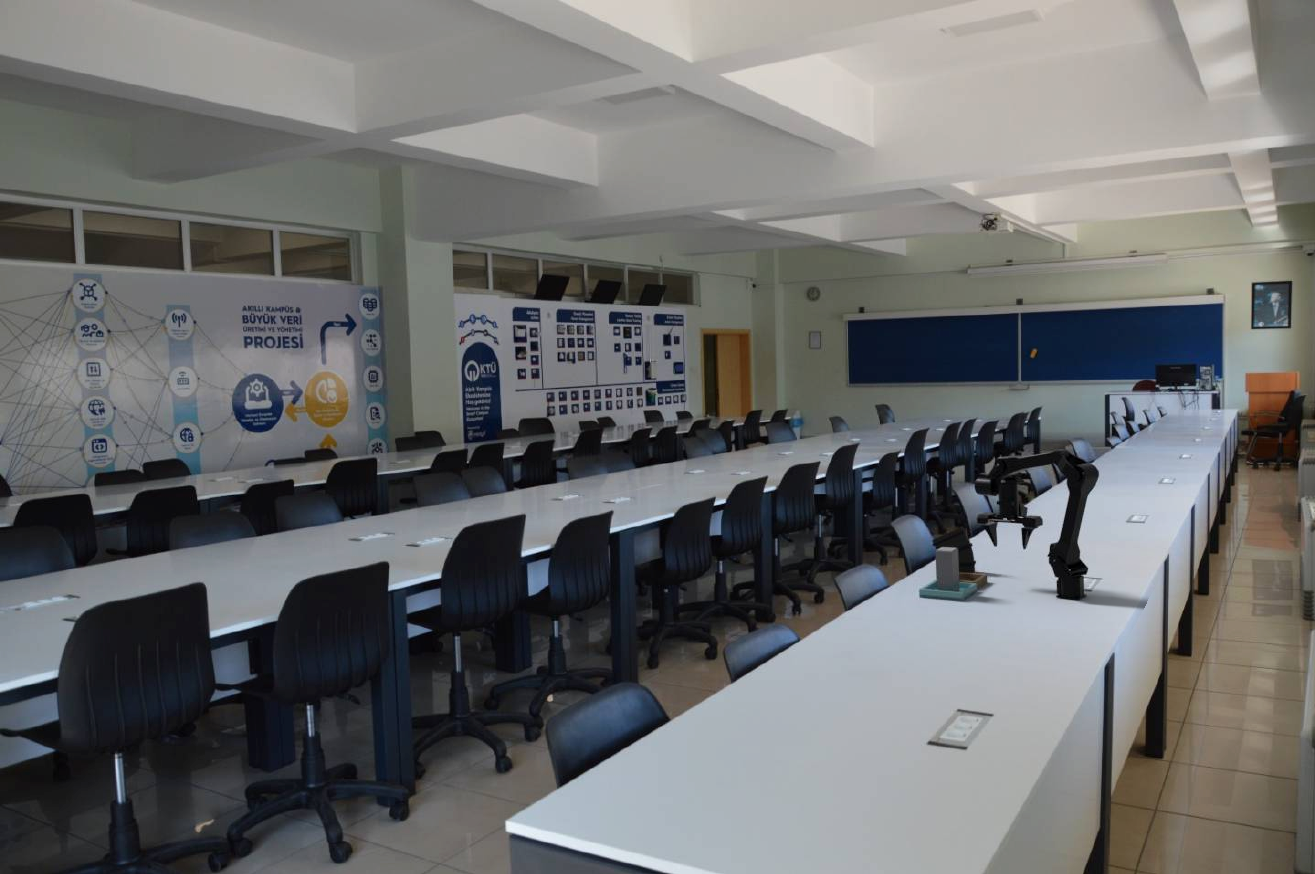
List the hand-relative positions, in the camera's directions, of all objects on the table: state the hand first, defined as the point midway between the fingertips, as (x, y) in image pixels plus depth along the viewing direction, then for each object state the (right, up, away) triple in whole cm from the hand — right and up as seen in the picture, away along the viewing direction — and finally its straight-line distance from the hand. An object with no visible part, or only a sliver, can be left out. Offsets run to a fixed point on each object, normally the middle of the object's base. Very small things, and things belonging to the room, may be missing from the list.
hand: (1010, 547), depth 298 cm
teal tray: (-20, -14, -4) cm, 25 cm away
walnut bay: (-12, -12, +7) cm, 18 cm away
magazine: (-9, -11, +26) cm, 30 cm away
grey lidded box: (-20, -13, -4) cm, 24 cm away
